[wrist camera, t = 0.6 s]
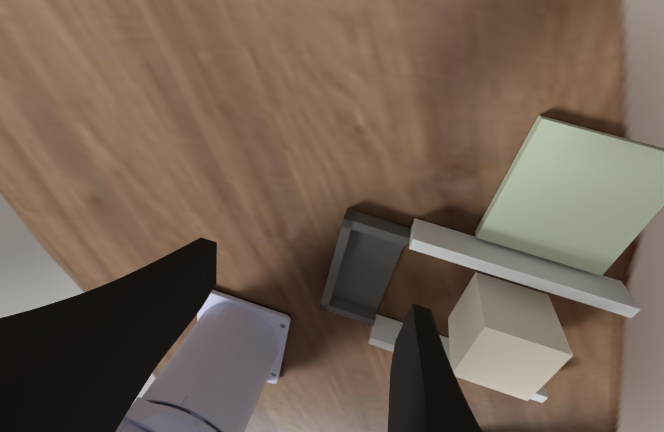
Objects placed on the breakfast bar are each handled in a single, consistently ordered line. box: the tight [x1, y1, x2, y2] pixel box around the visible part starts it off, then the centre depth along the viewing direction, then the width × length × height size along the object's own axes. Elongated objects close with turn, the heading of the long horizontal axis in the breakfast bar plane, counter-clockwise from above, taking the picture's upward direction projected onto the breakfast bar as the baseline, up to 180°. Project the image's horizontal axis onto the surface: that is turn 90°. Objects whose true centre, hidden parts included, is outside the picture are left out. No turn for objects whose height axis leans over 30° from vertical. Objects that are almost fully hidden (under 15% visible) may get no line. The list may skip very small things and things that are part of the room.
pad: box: [475, 115, 664, 276], centre depth 18 cm, size 7×7×1 cm
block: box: [448, 272, 573, 401], centre depth 21 cm, size 4×4×4 cm
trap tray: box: [319, 208, 411, 326], centre depth 23 cm, size 8×4×1 cm, turn 168°
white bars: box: [368, 218, 641, 403], centre depth 22 cm, size 9×12×2 cm
